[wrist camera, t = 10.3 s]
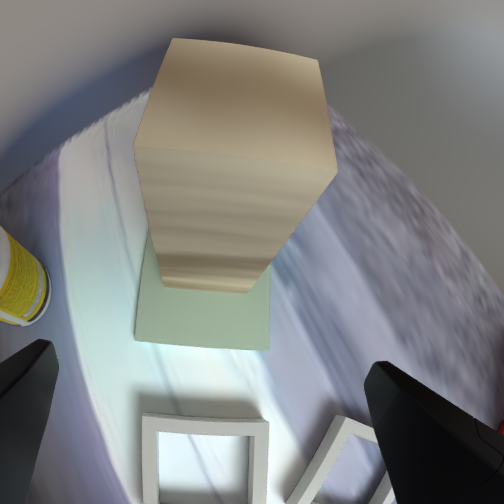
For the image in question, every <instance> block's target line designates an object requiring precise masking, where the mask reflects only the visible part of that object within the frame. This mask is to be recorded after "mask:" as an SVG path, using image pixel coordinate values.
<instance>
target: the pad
mask: <svg viewBox="0 0 504 504" xmlns="http://www.w3.org/2000/svg"><path fill="white" fill-rule="evenodd" d="M270 274H271V263H270V264H269V265H268V267H267V268H266V269H265V271H264V272H263V273H262V275H261V276H260V277H259V278H258V280H257V281H256V282H255V284H254V285H253V286H252V288H251V289H250V290H249V292H248V293H247V294H235V293H222V292H210V291H199V290H188V289H177V288H167V287H164V284H163V280H162V277H161V273H160V269H159V265H158V261H157V257H156V253H155V249H154V245H153V241H152V237H151V233H150V229H148V235H147V241H146V248H145V254H144V261H143V268H142V276H141V283H140V291H139V300H138V309H137V318H136V329H135V341H142V342H151V343H160V344H170V345H181V346H193V347H206V348H220V349H238V350H263V351H268V350H269V341H270Z"/></svg>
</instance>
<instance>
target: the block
mask: <svg viewBox="0 0 504 504" xmlns="http://www.w3.org/2000/svg"><path fill="white" fill-rule="evenodd" d="M133 150H134V155H135V161H136V166H137V172H138V177H139V182H140V187H141V192H142V197H143V202H144V206H145V211H146V215H147V220H148V224H149V229H150V233H151V237H152V241H153V245H154V249H155V253H156V257H157V261H158V265H159V269H160V273H161V277H162V280H163V284H164V287H167V288H177V289H188V290H199V291H210V292H222V293H235V294H247V293H248V292H249V290H250V289H251V288H252V286H253V285H254V284H255V282H256V281H257V280H258V278H259V277H260V276H261V275H262V273H263V272H264V271H265V269H266V268H267V267H268V265H269V264H270V263H271V261H272V260H273V259H274V257H275V256H276V255H277V253H278V252H279V251H280V249H281V248H282V247H283V245H284V244H285V243H286V241H287V240H288V239H289V237H290V236H291V235H292V233H293V232H294V231H295V229H296V228H297V227H298V225H299V224H300V223H301V221H302V220H303V219H304V217H305V216H306V215H307V213H308V212H309V211H310V209H311V208H312V207H313V205H314V204H315V203H316V201H317V200H318V198H319V197H320V196H321V194H322V193H323V192H324V190H325V189H326V188H327V186H328V185H329V184H330V182H331V181H332V179H333V178H334V177H335V175H336V174H337V173H338V171H337V164H336V157H335V150H334V144H333V138H332V132H331V126H330V120H329V114H328V109H327V103H326V98H325V93H324V89H323V83H322V78H321V74H320V69H319V65H318V61H317V60H315V59H310V58H306V57H302V56H298V55H293V54H289V53H284V52H279V51H274V50H269V49H263V48H257V47H252V46H245V45H238V44H231V43H223V42H214V41H205V40H193V39H178V38H173V39H172V41H171V44H170V46H169V48H168V51H167V53H166V55H165V58H164V60H163V63H162V65H161V68H160V70H159V73H158V75H157V78H156V81H155V83H154V85H153V88H152V91H151V94H150V96H149V99H148V102H147V105H146V108H145V110H144V113H143V116H142V119H141V122H140V125H139V128H138V132H137V135H136V138H135V141H134V144H133Z"/></svg>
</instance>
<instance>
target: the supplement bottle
mask: <svg viewBox="0 0 504 504" xmlns="http://www.w3.org/2000/svg"><path fill="white" fill-rule="evenodd" d="M50 298H51V280H50V277H49V274H48V272H47V270H46V268H45V267H44V265H43V264H42V263H41V262H40V261H39V260H38V259H36V258H35V257H34V256H33V255H32V254H31V253H29V252H28V251H27V250H26V249H25V248H24V247H23V246H21V245H20V244H19V243H18V242H17V241H16V240H15V239H14V238H13V237H12V236H11V235H9V234H8V233H7V232H6V231H5V230H4V229H3V228H2V227H1V226H0V321H3V322H6V323H9V324H12V325H15V326H28V325H30V324H32V323H34V322H36V321H37V320H38V319H40V318H41V317H42V315H43V314H44V313H45V311H46V309H47V307H48V305H49V302H50Z"/></svg>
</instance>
